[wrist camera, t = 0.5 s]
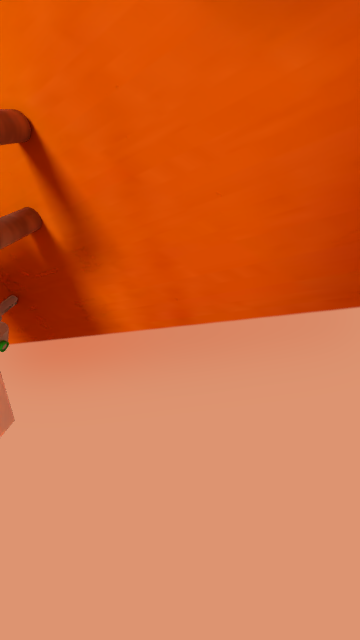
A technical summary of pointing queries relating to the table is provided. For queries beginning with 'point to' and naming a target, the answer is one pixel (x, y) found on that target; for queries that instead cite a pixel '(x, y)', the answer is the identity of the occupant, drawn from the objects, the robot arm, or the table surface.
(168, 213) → the table surface
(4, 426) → the robot arm
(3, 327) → the mechanical component
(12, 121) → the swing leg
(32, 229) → the stool
